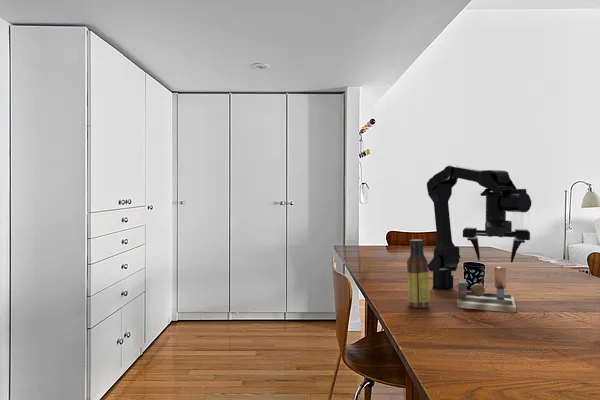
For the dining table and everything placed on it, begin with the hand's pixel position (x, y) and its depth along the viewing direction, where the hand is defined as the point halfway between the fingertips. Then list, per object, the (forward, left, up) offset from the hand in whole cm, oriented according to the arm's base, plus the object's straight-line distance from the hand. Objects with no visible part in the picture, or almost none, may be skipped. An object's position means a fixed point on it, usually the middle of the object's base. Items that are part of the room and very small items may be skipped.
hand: (495, 261), depth 137 cm
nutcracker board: (-3, -3, -13) cm, 13 cm away
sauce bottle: (-21, -14, -13) cm, 28 cm away
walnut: (-5, -3, -11) cm, 12 cm away
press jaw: (+1, -3, -11) cm, 11 cm away
